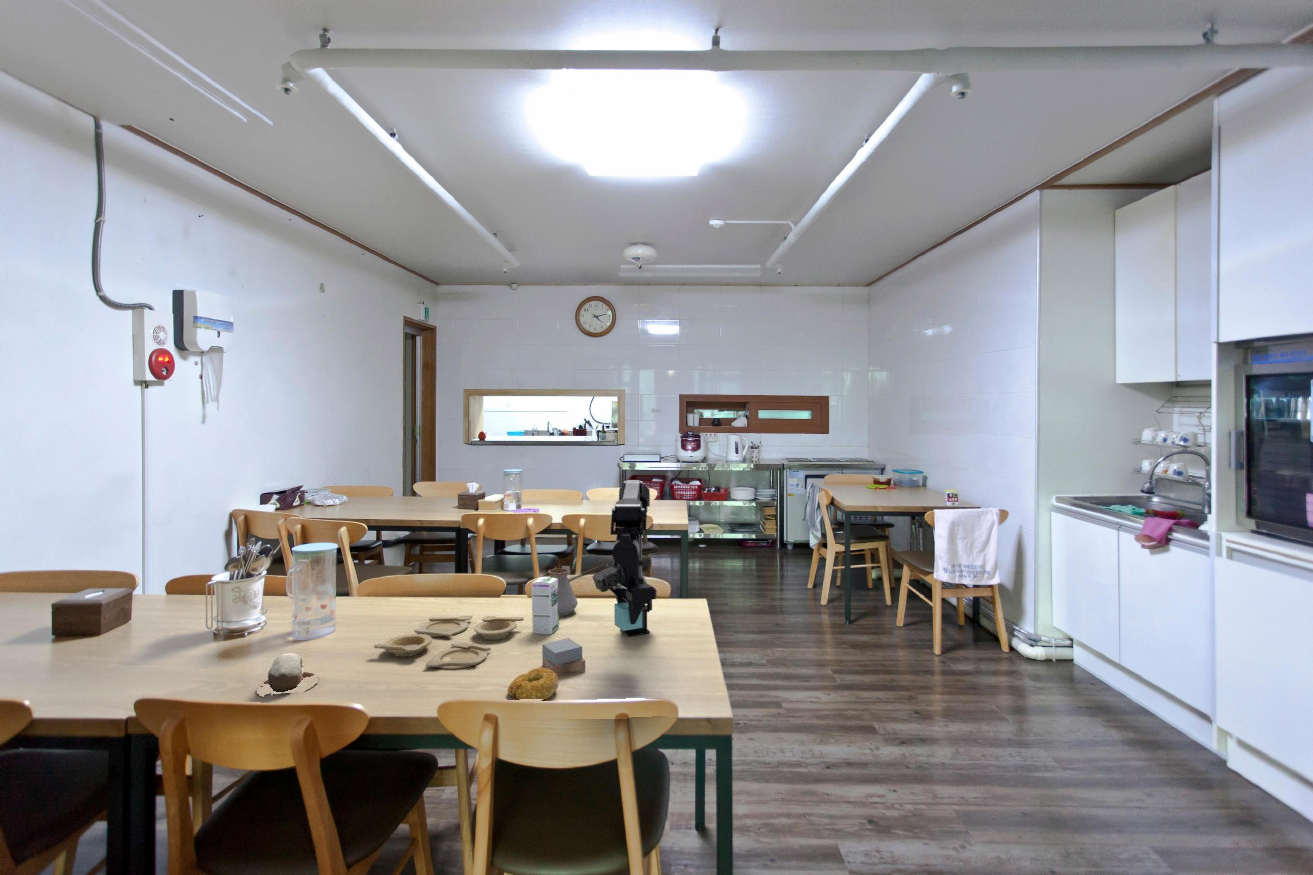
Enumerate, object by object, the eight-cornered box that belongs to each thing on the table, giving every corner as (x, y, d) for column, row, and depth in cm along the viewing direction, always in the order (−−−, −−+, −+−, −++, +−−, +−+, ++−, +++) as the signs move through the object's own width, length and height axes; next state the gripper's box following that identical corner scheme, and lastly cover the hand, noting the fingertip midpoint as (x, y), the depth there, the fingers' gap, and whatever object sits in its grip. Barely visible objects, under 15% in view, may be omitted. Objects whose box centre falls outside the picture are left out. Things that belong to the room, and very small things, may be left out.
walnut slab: (574, 660, 156) (573, 649, 156) (585, 672, 149) (585, 660, 149) (542, 666, 153) (542, 654, 152) (552, 679, 145) (552, 666, 145)
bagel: (515, 683, 142) (515, 662, 142) (563, 685, 142) (563, 664, 141) (500, 703, 133) (500, 681, 132) (552, 706, 132) (552, 684, 131)
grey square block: (568, 649, 155) (568, 637, 155) (582, 658, 150) (582, 646, 150) (542, 656, 151) (542, 644, 151) (555, 665, 146) (555, 652, 146)
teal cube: (633, 621, 154) (633, 601, 154) (642, 627, 149) (642, 606, 149) (614, 624, 151) (614, 603, 151) (623, 630, 147) (622, 609, 147)
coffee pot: (537, 618, 187) (537, 568, 186) (542, 606, 198) (542, 559, 198) (609, 617, 188) (609, 567, 187) (610, 605, 199) (610, 558, 199)
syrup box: (551, 634, 173) (551, 582, 173) (531, 633, 174) (531, 581, 174) (559, 628, 179) (558, 577, 178) (539, 626, 180) (539, 576, 179)
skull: (260, 674, 144) (294, 638, 146) (298, 700, 146) (331, 665, 148) (241, 695, 133) (278, 656, 134) (283, 723, 135) (318, 684, 137)
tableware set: (437, 619, 187) (437, 606, 187) (530, 626, 181) (530, 612, 181) (359, 665, 153) (358, 649, 153) (469, 676, 147) (469, 659, 147)
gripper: (582, 551, 154) (582, 614, 155) (612, 568, 138) (612, 638, 138) (624, 547, 159) (624, 608, 160) (657, 562, 143) (657, 630, 143)
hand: (628, 620), depth 150 cm, fingers closed on teal cube, 5 cm apart
